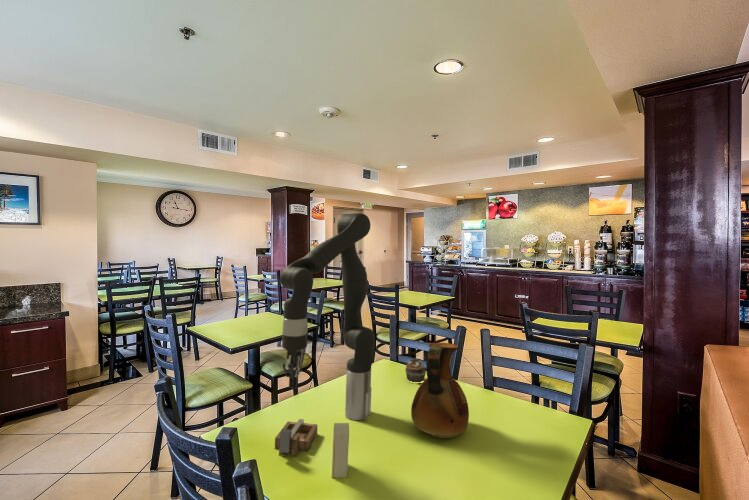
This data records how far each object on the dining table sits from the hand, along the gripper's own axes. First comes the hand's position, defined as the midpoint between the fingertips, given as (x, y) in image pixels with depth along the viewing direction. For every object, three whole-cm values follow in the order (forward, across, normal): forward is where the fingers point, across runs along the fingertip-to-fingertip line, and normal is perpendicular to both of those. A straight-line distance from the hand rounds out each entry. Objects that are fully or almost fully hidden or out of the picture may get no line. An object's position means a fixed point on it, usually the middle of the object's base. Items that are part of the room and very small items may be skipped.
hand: (293, 387), depth 108 cm
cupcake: (+19, +64, -37) cm, 76 cm away
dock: (+19, +3, 0) cm, 19 cm away
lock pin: (+17, +1, 0) cm, 17 cm away
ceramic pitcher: (+19, +20, -46) cm, 54 cm away
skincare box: (+19, -8, -17) cm, 27 cm away
